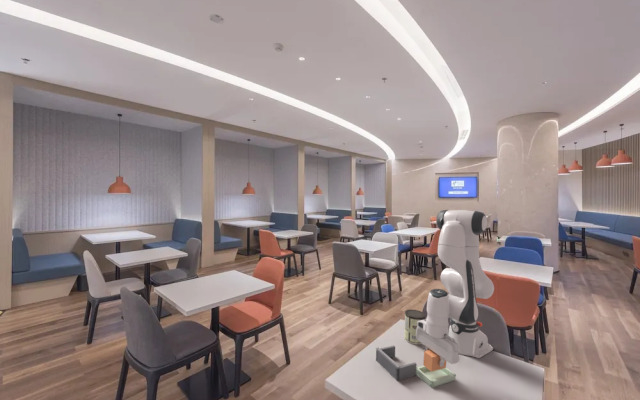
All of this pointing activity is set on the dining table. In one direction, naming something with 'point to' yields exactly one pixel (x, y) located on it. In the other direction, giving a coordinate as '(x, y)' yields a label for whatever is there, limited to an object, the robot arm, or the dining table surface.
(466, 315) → the robot arm
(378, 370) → the dining table surface
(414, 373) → the bay
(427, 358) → the orange block
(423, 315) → the coffee can
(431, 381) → the tray
